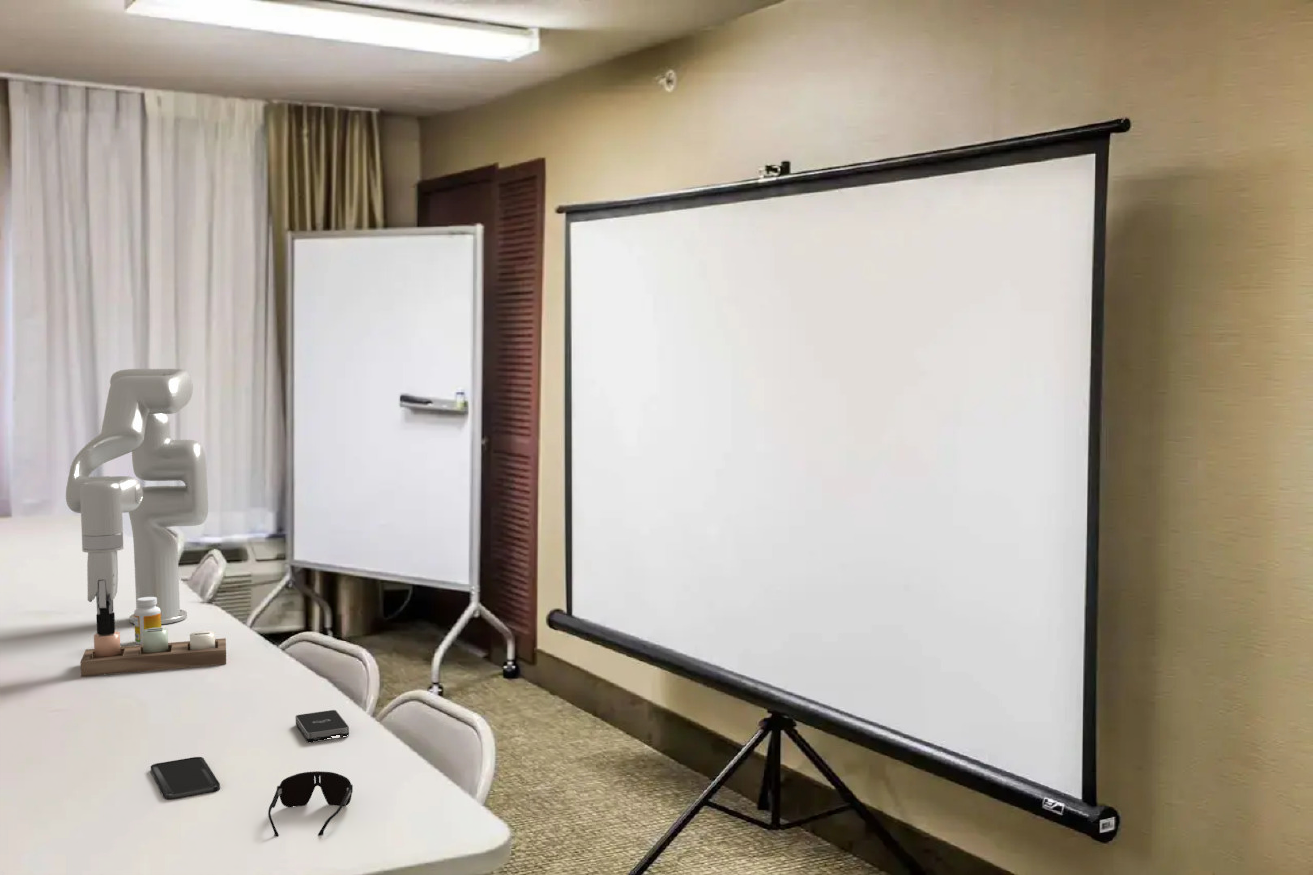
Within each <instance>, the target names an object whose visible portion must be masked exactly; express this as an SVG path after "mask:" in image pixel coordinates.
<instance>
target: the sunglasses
mask: <svg viewBox="0 0 1313 875" xmlns="http://www.w3.org/2000/svg"><path fill="white" fill-rule="evenodd" d="M353 786H354V785H353V784H352V783H351V781H350V779H349V778H348V777H346V776H344V775H342V774H339V773H336V772H334V771H333V772H332V771H304V772H300V773H296V774H294V775H290V776H288V777H286V778H284V779H283V780H281V782H280V784H279V785H277V786H276V790H275V793H274V796H273V799H272V800H271V802H270V804H269V807H268V809H267V815H268V816H267V817H268V819H269V822H270V825H271V827H272V830H273V833H274V836H275V837H277V838H279V832H278V830H277V828H276V825H275V823H274V821H273V819H272V814H271V812H272V809H274V808H275V807H276V805H277V802H278V800H279V799H280V802H281V805H282V806H284V807H287V808H294V807H293V806H296V807H303V806H306V805H307V804H308V803H309V802H310V800H311V798H312V795H313V793H314V791H315V788H316V787H320V789H321V793H322V794H323V797H324V799H325V802H326V803H327V804H328V805H329V806H335V807H336V806H337V807H338V808H337V809H336V811H335V812H333V813H332V815H330V816H329V817H328V818H327V820H326V821H325V822H324V824H323V825H322V827H321V829H320V830H319V831H318V833H317V836H323V835H324V832H325V830H326V827H327V826H328V825H329V823H330V822H331V820H333V818H334V817H335V816H336V815H338V814H339V813H340V811H341V810H342V808H344V807H346V806H348V805H349V804H350V802H351V800H352V794H353V792H354V791H353V788H354V787H353Z"/></svg>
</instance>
